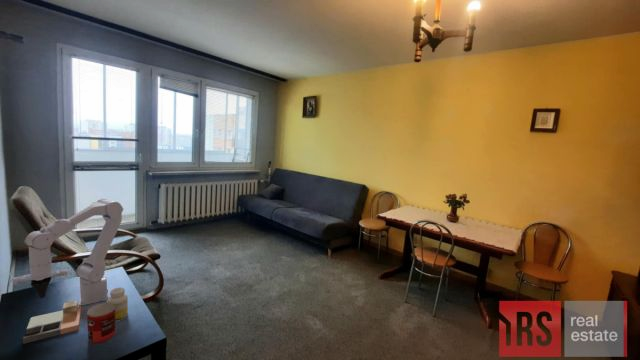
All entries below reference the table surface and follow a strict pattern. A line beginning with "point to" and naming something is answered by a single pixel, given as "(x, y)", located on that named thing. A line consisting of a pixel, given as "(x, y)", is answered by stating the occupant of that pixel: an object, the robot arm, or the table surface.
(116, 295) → the pill bottle
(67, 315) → the birch block
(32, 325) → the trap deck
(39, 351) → the table surface
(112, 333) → the canned food
